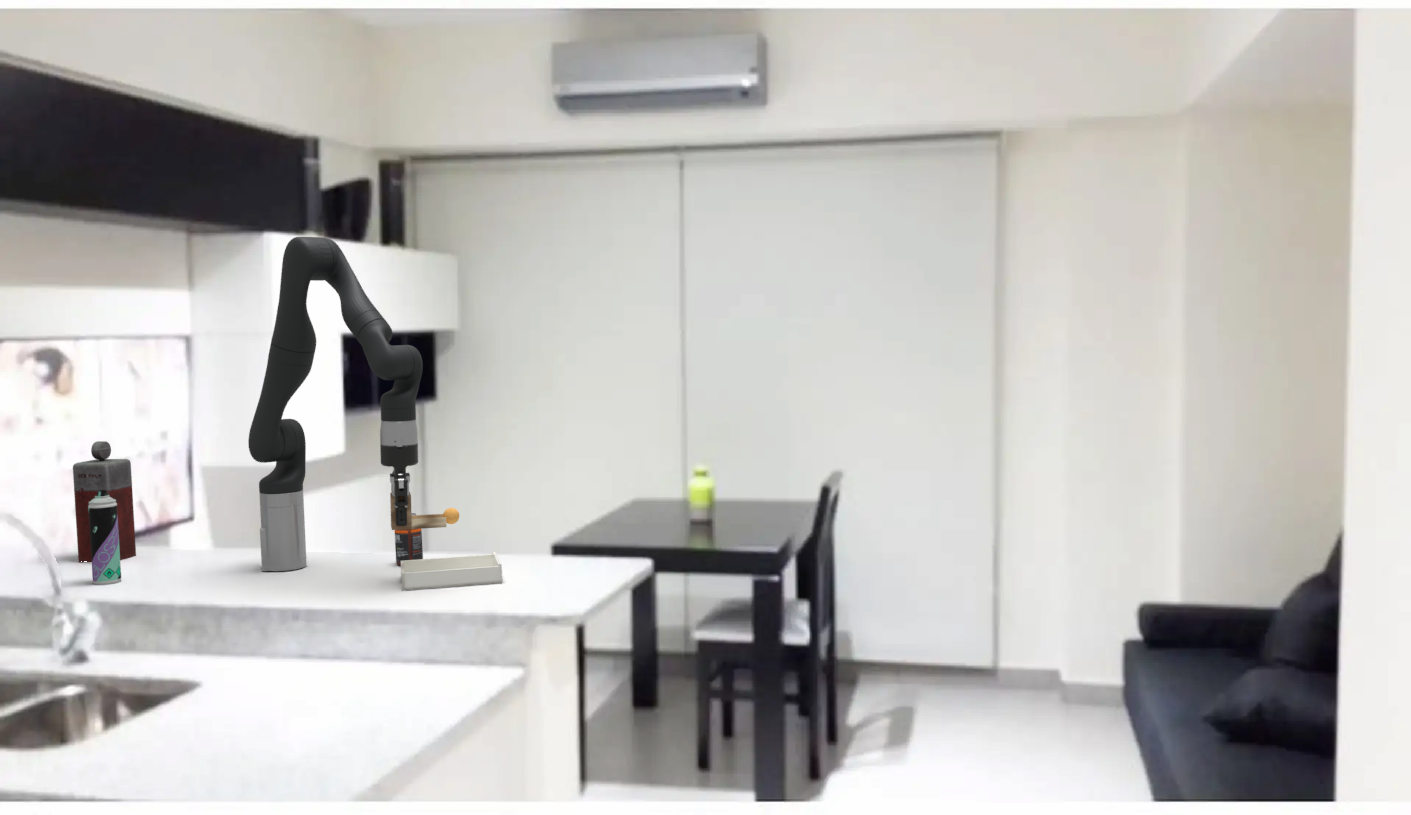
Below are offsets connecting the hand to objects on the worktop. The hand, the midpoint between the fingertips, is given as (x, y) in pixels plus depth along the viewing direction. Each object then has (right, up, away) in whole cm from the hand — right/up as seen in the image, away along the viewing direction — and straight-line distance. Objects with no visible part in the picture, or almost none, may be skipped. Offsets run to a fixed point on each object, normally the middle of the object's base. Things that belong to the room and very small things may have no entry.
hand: (401, 523), depth 248 cm
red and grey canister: (-80, -12, +35) cm, 88 cm away
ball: (+10, +1, +3) cm, 10 cm away
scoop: (+3, -1, +1) cm, 4 cm away
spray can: (-65, -14, +8) cm, 67 cm away
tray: (+10, -12, +2) cm, 16 cm away
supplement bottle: (-3, -11, +21) cm, 24 cm away
